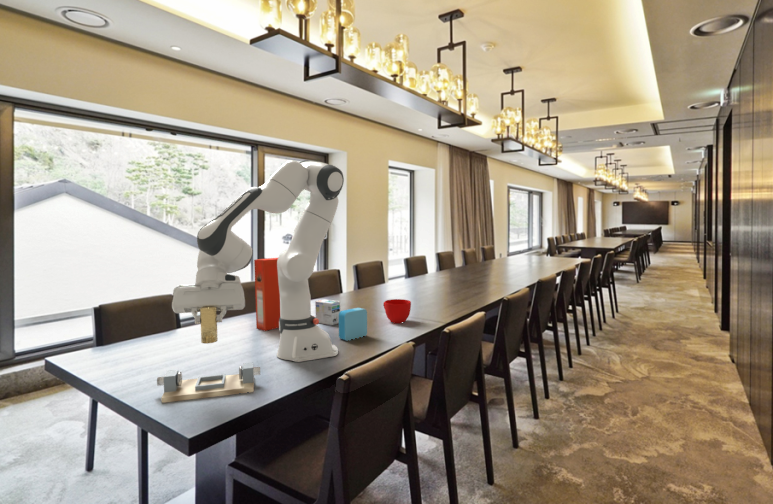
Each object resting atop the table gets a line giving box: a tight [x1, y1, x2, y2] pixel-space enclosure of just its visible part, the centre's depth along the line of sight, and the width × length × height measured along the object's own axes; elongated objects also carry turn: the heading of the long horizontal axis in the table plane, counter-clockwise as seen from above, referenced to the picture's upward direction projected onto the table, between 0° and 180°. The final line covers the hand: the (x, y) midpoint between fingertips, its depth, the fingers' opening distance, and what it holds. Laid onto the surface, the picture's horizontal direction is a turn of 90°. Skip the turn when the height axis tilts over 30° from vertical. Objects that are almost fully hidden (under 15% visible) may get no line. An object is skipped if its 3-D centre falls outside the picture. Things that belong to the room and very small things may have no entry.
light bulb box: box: [314, 298, 341, 326], centre depth 202 cm, size 11×7×11 cm, turn 58°
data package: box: [338, 307, 368, 342], centre depth 176 cm, size 12×4×12 cm, turn 133°
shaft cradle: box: [156, 362, 261, 404], centre depth 123 cm, size 28×12×6 cm, turn 107°
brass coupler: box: [199, 306, 218, 345], centre depth 122 cm, size 4×4×10 cm
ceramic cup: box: [383, 298, 412, 324], centre depth 205 cm, size 13×17×10 cm
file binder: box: [253, 257, 280, 332], centre depth 195 cm, size 8×17×32 cm, turn 139°
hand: (208, 322), depth 121 cm, fingers closed on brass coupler, 4 cm apart
